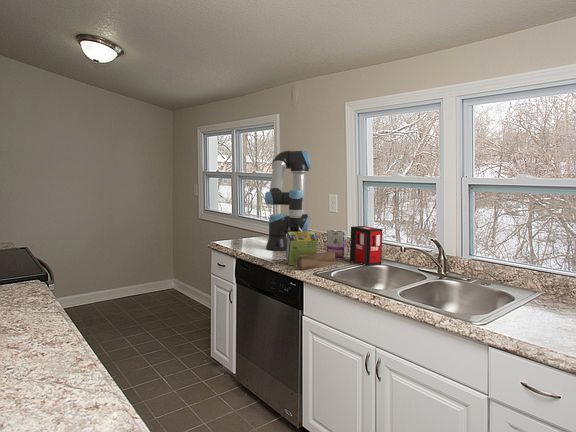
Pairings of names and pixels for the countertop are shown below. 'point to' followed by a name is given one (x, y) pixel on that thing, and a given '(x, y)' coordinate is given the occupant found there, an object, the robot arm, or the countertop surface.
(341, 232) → the candy bar box
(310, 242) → the protein box
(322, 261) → the walnut block
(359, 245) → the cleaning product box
